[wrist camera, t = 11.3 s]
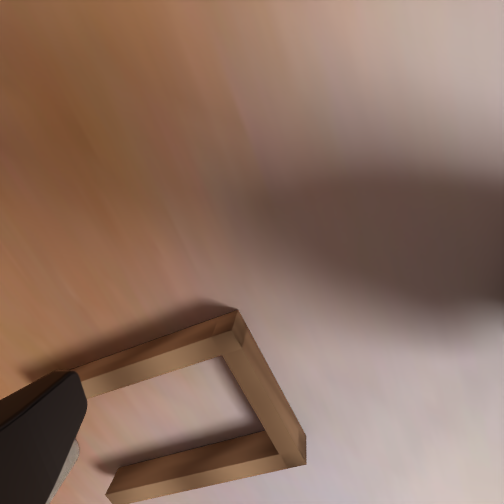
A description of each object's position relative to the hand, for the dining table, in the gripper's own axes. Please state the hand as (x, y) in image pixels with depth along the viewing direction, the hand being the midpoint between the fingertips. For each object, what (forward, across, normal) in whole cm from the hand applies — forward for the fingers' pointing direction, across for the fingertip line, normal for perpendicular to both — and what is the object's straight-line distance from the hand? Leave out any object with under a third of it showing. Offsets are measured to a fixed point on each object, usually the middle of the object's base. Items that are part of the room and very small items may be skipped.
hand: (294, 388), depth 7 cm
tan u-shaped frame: (+12, +8, +12) cm, 19 cm away
